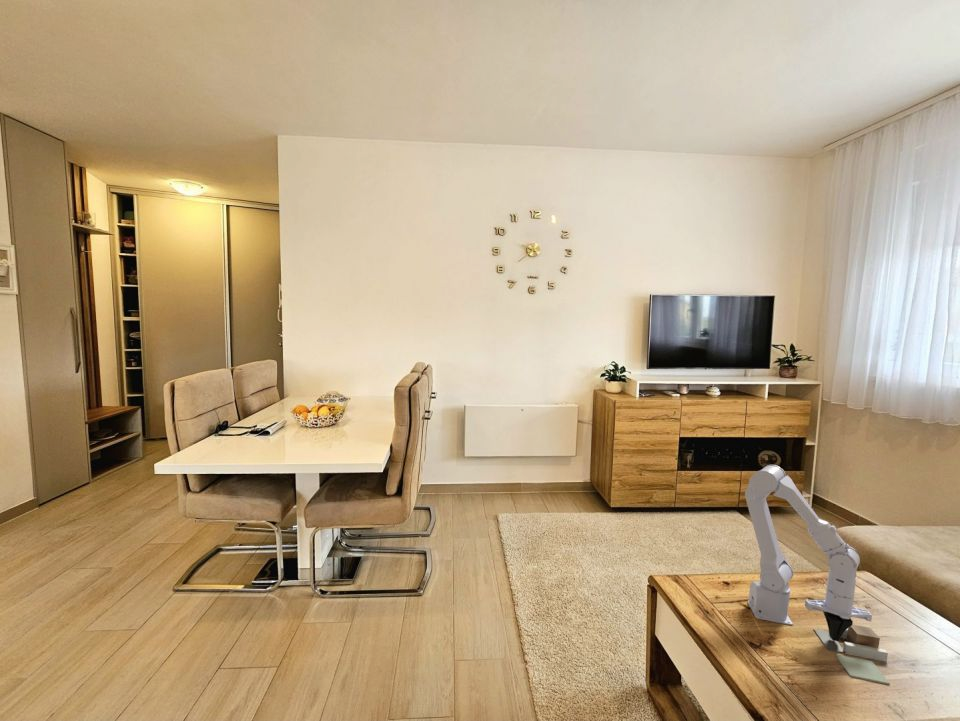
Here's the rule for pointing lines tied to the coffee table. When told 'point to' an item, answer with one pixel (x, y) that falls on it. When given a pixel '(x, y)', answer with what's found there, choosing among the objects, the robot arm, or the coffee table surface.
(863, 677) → the pad
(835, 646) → the channel
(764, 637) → the coffee table surface
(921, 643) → the coffee table surface
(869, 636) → the block
